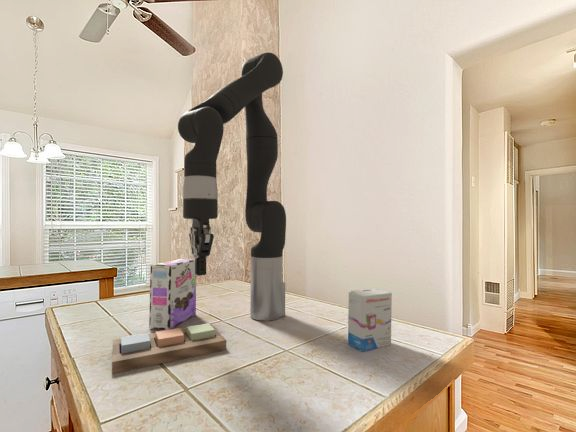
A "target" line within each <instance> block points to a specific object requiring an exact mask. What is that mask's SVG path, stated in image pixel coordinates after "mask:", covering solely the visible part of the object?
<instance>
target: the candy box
mask: <svg viewBox="0 0 576 432" xmlns="http://www.w3.org/2000/svg"><path fill="white" fill-rule="evenodd" d="M149 274H150V275H149V276H150V277H149V279H150V283H149V322H148V325H149V326H148V327H149V329H152V330H160V331H163V330H169V329H175V327H177V326H179V325H180V324H182V323H184V322H185V321H187V320H189V319H190V318H192V317H194V316H196V315H197V275H196V274H195V259H192V258H191V259H185V258H178V259H174V260H169V261H165V262H159V263H154V264H150V273H149Z"/></svg>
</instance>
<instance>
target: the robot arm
mask: <svg viewBox="0 0 576 432" xmlns="http://www.w3.org/2000/svg"><path fill="white" fill-rule="evenodd" d="M283 74H284V71H283V64H282V61H281V60H280V58H279V57H278V56H277V55H276V54H275V53H273V52H270V51H269V52H263V53H260V54H258V55H256V56H253V57H251V58H250V57H249V59H247V60H245V61H244V62H243V63H242V66H241V72H240V75H241V76H240V77H239V78H237V79H235V80H232V81H231V82H229V83H227V84H226V85H224V86H222V87H221V88H220V89H218V90H217V91H216V92H214V93H213V94H212V95H211V96H210V97H209V98H207V99H206V100H205V101H202V102H201V103H199V104H196V105H195V106H194V107H191V108H190V109H189V110H187V111H185V112H184V113H183V114H182V115H181V116H180V117H179V119H178V123H177V130H178V133H179V135H180V137H181V139H183V140H184V142H187V143H189V144H194V146H193V147H192V149H191V150H189V151H188V152H187V153H185V156H184V160H183V164H184V165H183V167H184V168H183V169H184V170H183V171H184V172H183V175H184V177H183V179H184V180H183V186H182V213H183V214H182V217H183V218H184V220H186V219H187V220H192V224H191V227H189V234H188V236H189V242H190V247H191V255H193V258H194V260H195V274H196V276H199V277H200V276H205V275H207V259H208V257H210V254H211V250H212V246H213V242H214V237H215V236H214V233H212V227H211V224H210V220H216V219H218V215H219V213H218V211H219V210H218V209H219V208H218V206H219V205H218V203H219V201H218V196H219V195H218V191H219V190H218V183H217V182H218V180H217V159H218V156H219V153H220V150H221V145H222V141H223V136H224V131H225V130H224V128H225V127H224V125H225V124H227V123H228V122H230V121H232V119H234V118H235V117H236V116H237V115H238V114H239V113H240V112H241V111H242V110H243V109H244V111H245V114H244V115H245V149H246V150H245V153H246V180H247V181H246V182H247V183H246V198H245V210H244V212H245V222H246V225H247V228H249V230H250V231H252V232H254V233H260V240H259V241H258V242H257V243H256V244H254V245H252V246H251V248H250V307H249V308H250V310H249V311H250V318H251V319H254V320H257V321H275V320H279V319H281V318H282V317H286V283H285V282H284V281H283V251H284V249H285V246H286V245H285V244H286V234H287V230H286V229H287V214H286V213H287V212H286V209H285V207H284V205H283V204H282V203H281V202H280V201H276V200H268V185H269V181H270V178H271V176H272V173H273V171H274V169H275V165H276V164H277V161H278V160H277V159H278V157H279V156H278V155H279V148H278V147H279V146H278V145H279V143H278V133H277V130H276V127H275V126H274V125H273V123H272V121H271V119H270V117H268V115H267V113H266V111H265V109H264V104H263V93H265V92H266V91H267V90H270V89H272V88H274V87H276V86H278V85H279V84H280V83H281V81H282V79H283Z"/></svg>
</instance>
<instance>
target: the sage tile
mask: <svg viewBox="0 0 576 432" xmlns="http://www.w3.org/2000/svg"><path fill="white" fill-rule="evenodd" d="M210 324H211V323H208V322H207V323H202V324H196V325H189V326H186V328H187V337H188V338H189V340H190V341H193V340H199V339H204V338H210V337H215V329H216V328H215V327H214V328H215V329H214V328H213V327H212V326H211V325H210Z"/></svg>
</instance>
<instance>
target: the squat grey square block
mask: <svg viewBox="0 0 576 432" xmlns="http://www.w3.org/2000/svg"><path fill="white" fill-rule="evenodd" d="M148 334H149V333H148V332H145V333H139V334H132V335H127V336H126V335H125V336H121V337H120V339H121V353H120V354H122V353H128V352H133V351H139V350H144V349H150V338H149V335H148Z"/></svg>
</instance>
